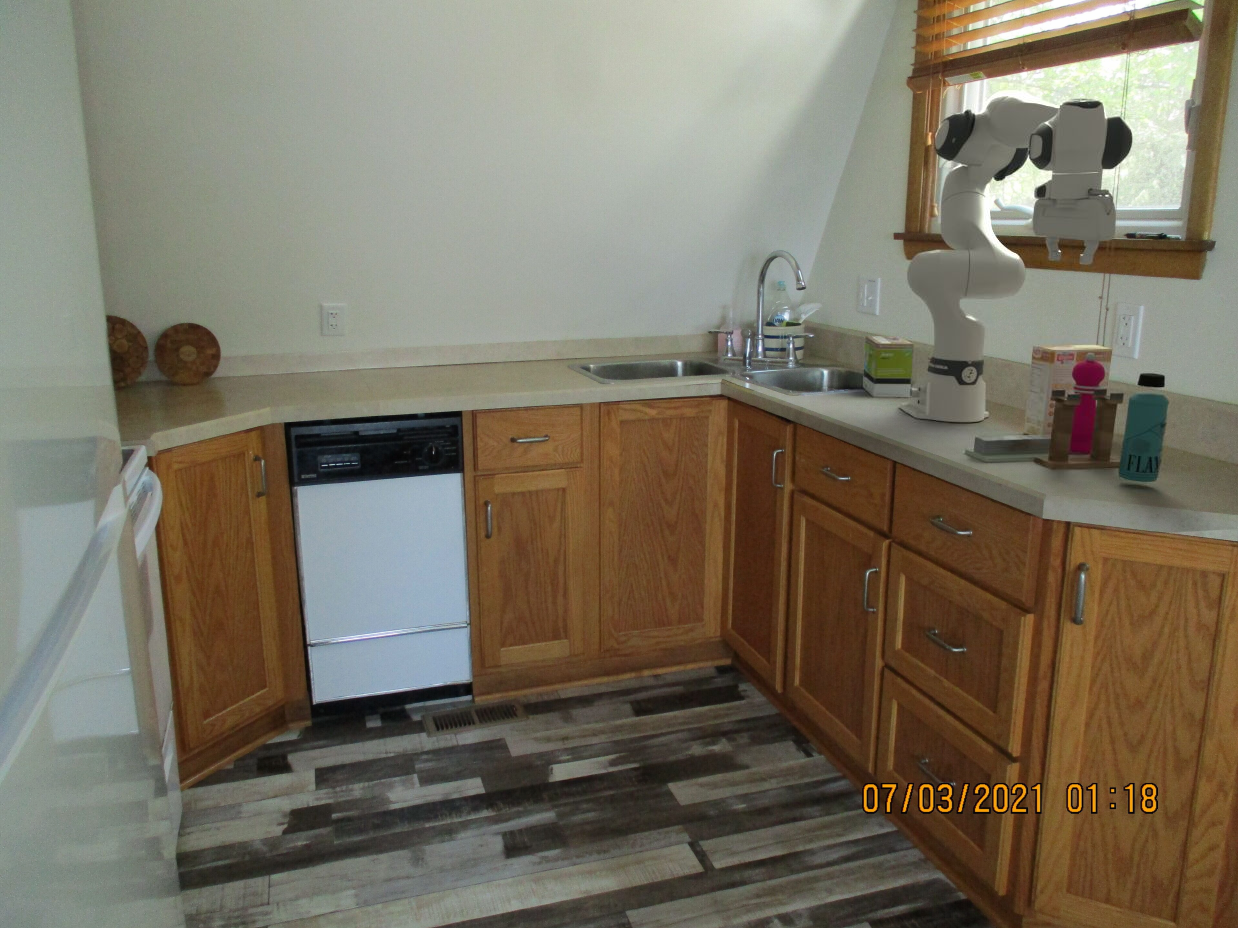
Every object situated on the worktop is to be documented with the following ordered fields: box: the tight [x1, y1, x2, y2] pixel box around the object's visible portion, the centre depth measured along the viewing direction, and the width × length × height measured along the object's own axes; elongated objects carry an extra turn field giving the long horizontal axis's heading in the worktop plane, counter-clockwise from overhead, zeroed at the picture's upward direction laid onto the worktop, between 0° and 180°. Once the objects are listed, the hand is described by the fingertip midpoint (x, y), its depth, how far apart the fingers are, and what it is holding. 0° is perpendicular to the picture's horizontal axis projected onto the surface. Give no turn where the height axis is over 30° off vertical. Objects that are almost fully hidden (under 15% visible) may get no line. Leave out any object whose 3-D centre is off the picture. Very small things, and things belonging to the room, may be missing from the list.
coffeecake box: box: [1023, 344, 1113, 436], centre depth 213 cm, size 15×7×20 cm, turn 102°
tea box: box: [862, 335, 915, 398], centre depth 265 cm, size 15×10×15 cm, turn 178°
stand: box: [1033, 388, 1125, 470], centre depth 187 cm, size 6×15×14 cm, turn 101°
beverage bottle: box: [1117, 372, 1170, 483], centre depth 171 cm, size 6×7×20 cm
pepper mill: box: [1069, 353, 1105, 455], centre depth 198 cm, size 7×7×20 cm
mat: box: [964, 448, 1049, 463], centre depth 195 cm, size 8×17×1 cm, turn 101°
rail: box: [973, 434, 1051, 456], centre depth 194 cm, size 4×16×3 cm, turn 101°
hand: (1069, 262), depth 191 cm, fingers open, 8 cm apart
